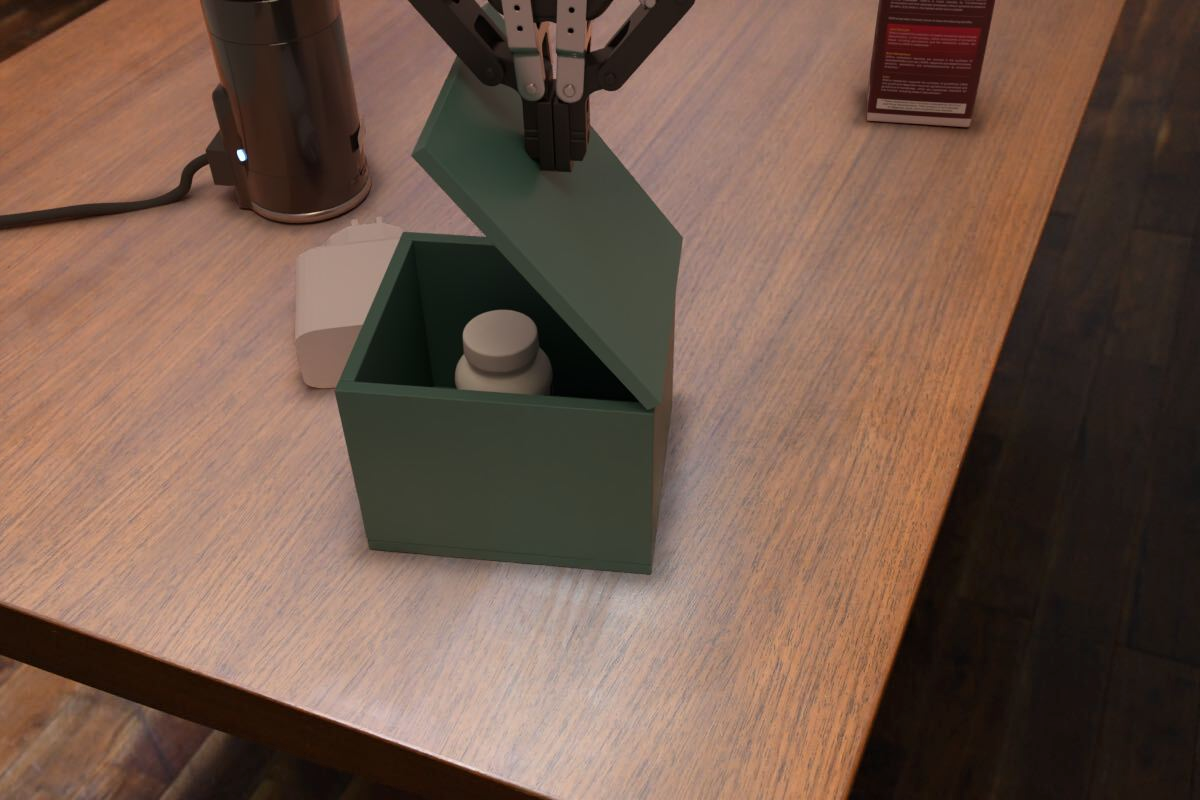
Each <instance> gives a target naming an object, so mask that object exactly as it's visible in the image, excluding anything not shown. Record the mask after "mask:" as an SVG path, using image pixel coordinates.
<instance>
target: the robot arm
mask: <svg viewBox="0 0 1200 800" xmlns="http://www.w3.org/2000/svg"><path fill="white" fill-rule="evenodd" d="M407 2H408V3H409V4H410V5H411V6H412V7H413V8H414V9H415V10H416V11H417V12H418V13H419V15H420V16H421V17H422V18H423V19H424V21H425V22H426V23H427V24H428V25H429V26H430V27H431V28H432V29H433V31H435V33H436V34H437V35H438V36H439V37H440V38H441V39H442V41H443V42H444V43H445V44H446V45H447V46H448V47H449V48H450V50H451V51H453V53H454V54H455V55H456V56H458V57H459V58H460V59H461V60H462V61H463V63H464V64H465V65H466V66H467V67H468V68H469V69H470V70H471V72H472V73H473V74H474V75H475V76H476V77H477V78H478V79H479V80H480V81H481V82H482V83H483V84H484V85H487V86H497V85H499V84H500V83H501V84H503V85H506V86H509V87H511V88H513V89H514V90H516V91H517V92H518V93H519V95H520V97H521V99H522V106H523V121H524V136H525V149H526V151H527V153H528V155H529V157H530V158H532V159H539V163H540V170H541V171H555V172H556V171H557V172H572V170H573V166H574V163H575V161H583V159H584V156H585V154H586V152H587V148H588V144H589V140H590V125H591V105H590V104H591V101H590V99H591V98H590V95H592V94H594V93H595V92H598V91H601V90H604V91H606V92H616V91H618V90H620V89H621V88H622V87H623V86H624V85H625V84H626V83H627V81H628V80H629V79H630V78H631V77H632V76H633V74H634V73H635V72H636V71H637V70H638V69H639V68H640V66H641V65H642V64H643V63H644V62H645V61H646V60H647V58H648V57H649V56H650V55H651V54H652V53H653V52H654V50H656V48H657V47H658V46H659V45H660V44H661V42H662V41H663V40H664V39H665V38H666V37H667V36H668V35H669V34H670V32H671V31H672V30H674V28H675V27H676V26H677V24H678V23H679V22H680V21H681V20H682V19H683V17H684V16H686V14H688V12H689V11H690V10H691V9H692V8H693V7H694V5H695V3H696V0H638V2H639V5H638V6H637V7H636V8H635V10H634V11H633V12H632V13H630V16H628V18H626V19H625V21H624V23H622V25H621V26H620V27H619V29H617V31H616V32H615V33H614V34H613V35H612V36H611V38H610V39H609V40H608V41H607V43H606V44H605V45H604V47H602V48H599V49H596V50H592V42H593V29H594V22H595V20H596V19H598V18H600V17H601V16H602V15H603V14H604V13H605V12H606V11H607V10H608V9H609V8H610V6H611V5H612V3H613V2H614V0H487V3H488V2H489V3H490V4H491V5H492V7H493V8H494V9H495V10H496V11H497V12H498V13H499V14H500V15H501V16H502V17H503V19H504V21H505V27H506V34H507V37H506V36H505V35H504V33H503V32H502V31H501V30H500V29H499V28H498V26H497V25H496V24H495V23H494V22H493V21H492V19H491V18H490V17H489V16H488V15H487V14H486V12H485V11H484V10H483V9H482V8H481V7H482V6H481V5H480V4H479V3H478V2H477V1H476V0H407ZM199 3H200V7H201V11H202V15H203V20H204V24H205V27H206V31H207V36H208V39H209V43H210V47H211V52H212V55H213V59H214V63H215V64H214V65H215V67H216V71H217V76H218V79H219V83H218V84H217V85H216V87H215V88H214V89H213V91H212V93H211V100H212V104H213V108H214V113H215V116H216V120H217V124H218V128H219V130H218V131H217V132H216V134H215V136H214V137H213V138H212V139H211V141H210V143H209V144H208V145H207V147H206V148H205V150H204V151H205V153H203V154H201V155H199V156H197V157H194V158H193V159H191V161H190V162H188V163H187V164H186V165H185V166H184V167H183V169H182V171H181V175H180V180H179V183H178V186H176V187H175V188H173V189H172V190H170V191H168V192H167V193H164V194H162V195H160V196H157V197H153V198H149V199H144V200H137V201H136V200H135V201H122V202H121V201H120V202H118V201H117V202H93V203H82V204H73V205H68V206H61V207H54V208H47V209H40V210H34V211H26V212H18V213H10V214H9V213H8V214H2V215H0V228H2V227H11V226H19V225H26V224H27V225H29V224H34V223H41V222H49V221H55V220H63V219H68V218H76V217H82V216H95V215H114V214H127V213H131V212H138V211H144V210H148V209H153V208H158V207H163V206H167V205H170V204H173V203H176V202H177V201H179V200H180V199H183V197H185V196H187V194H188V193H189V192H190V190H191V188H192V185H193V179H194V176H195V175H196V173H197V172H198V171H199V170H200V169H202V168H204V167H206V166H209V169H210V173H211V177H212V180H213V185H215V186H224V187H225V186H226V187H234V190H235V194H236V199H237V202H238V206H239V208H240V209H250V210H253V211H254V212H255V213H257V214H258V215H260V216H262V217H263V218H266V219H268V220H272V221H277V222H280V223H281V222H282V223H290V224H301V223H302V224H304V223H314V222H321V221H324V220H329V219H331V218H334V217H337V216H340V215H343V214H344V213H346V212H348V211H350V210H352V209H354V208H355V207H356V206H357V205H359V204H360V203H361V202H363V200H364V199H365V198H366V197H367V195H368V194H369V192H370V190H371V185H372V180H371V174H370V170H369V167H368V160H367V155H366V151H365V146H364V142H365V136H366V132H367V129H366V124H365V123H366V122H365V118H364V117H365V116H362V117H361V121H360V116H359V110H358V106H357V105H358V102H357V97H356V93H355V86H354V80H353V75H352V74H353V73H352V69H351V61H350V56H349V51H348V45H347V39H346V33H345V32H346V31H345V27H344V20H343V15H342V9H341V4H340V0H199ZM550 23H553V24H555V25H556V27H555V28H556V30H555V34H556V35H555V53H556V68H555V69H556V73H555V78H554V59H553V58H554V57H553V49H552V42H551V35H550Z"/></svg>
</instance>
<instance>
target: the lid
mask: <svg viewBox="0 0 1200 800" xmlns="http://www.w3.org/2000/svg"><path fill="white" fill-rule="evenodd" d="M480 7H481V8H482V9H483V10H484V11H485V12H486V14H487V15H488V16H489V17H490V18H491V19H492V21H493V22H494V23H495V24H496V25H497V26H498V28H499V29H500V30H501V31H502V32H503V33H504V35H505V36H506V37H507V34H506V27H505V21H504V17H503V15H501V14H500V13H499V12H497V11H496V10H495V9H494V8H493V7H492V5H491V4H490V3H489V2H488V1H487V3H485V4H483V5H482V6H480ZM410 157H411V158H412V159H413V160H414V161H415V162H416V163H417V165H419V167H421V169H422V170H423V171H424V172H425V173H426V174H427V175H428V176H429V177H430V178H431V179H432V180H433V181H434V182H435V183H436V185H437V186H438V187H439V188H440V189H441V190H442V191H443V192H444V193H445V194H446V195H447V196H448V197H449V199H450V200H451V202H453V203H454V204H455V205H456V207H458V208H459V209H460V210H461V212H462V213H463V214H464V215H465V216H466V217H467V218H468V219H469V220H470V221H471V222H472V224H474V225H475V226H476V228H477V229H478V230H479V231H480V232H481V233H482V234H483V236H484V237H487V238H488V239H489V240H490V241H491V242H492V244H493V245H494V246H495V247H496V248H497V249H498V250H499V251H500V252H501V253H502V254H503V255H504V256H505V257H506V259H507V260H508V261H509V262H510V263H511V264H512V265H513V266H514V267H515V268H516V269H517V270H518V271H519V273H520V274H521V275H522V276H523V277H524V278H525V279H526V280H527V281H528V282H529V283H530V284H531V285H532V286H533V288H534V289H535V290H536V291H537V292H538V293H539V294H540V295H541V296H542V297H543V298H544V299H545V300H546V302H547V303H548V304H549V305H550V306H551V307H552V308H553V309H554V310H555V311H556V312H557V313H558V314H559V315H560V317H561V318H562V319H563V320H564V321H565V322H566V323H567V324H568V325H569V326H570V327H571V328H572V329H573V331H574V332H575V333H576V334H577V335H578V336H579V337H580V338H581V339H582V340H583V341H584V342H585V343H586V344H587V346H588V347H589V348H590V349H591V350H592V351H593V352H594V353H595V354H596V355H597V356H598V357H599V358H600V360H601V361H602V362H603V363H604V364H605V365H606V366H607V367H608V368H609V369H610V370H611V371H612V372H613V373H614V375H615V376H616V377H617V378H618V379H619V380H620V381H621V382H622V383H623V384H624V385H625V386H626V387H627V389H628V390H629V391H630V392H631V393H632V394H633V395H634V396H635V397H636V398H637V399H638V400H639V401H640V403H641V404H642V405H643V406H644V407H645V408H646V409H647V410H649V409H652V408H654V407H656V406H658V405H660V404H661V400H662V392H663V385H664V377H665V370H666V362H667V355H668V347H669V340H670V332H671V325H672V317H673V310H674V302H675V303H676V301H675V295H676V294H677V287H678V279H679V271H680V264H681V257H682V249H683V242H684V237H683V235H682V234H681V233H680V232H679V231H678V229H676V227H675V226H674V224H673V223H672V222H671V221H670V219H668V217H667V216H666V215H665V214H664V212H663V211H662V210H661V208H659V206H658V205H657V204H656V203H655V202H654V200H653V199H652V198H651V197H650V195H649V194H648V193H647V191H645V189H644V188H643V187H642V186H641V184H640V183H639V182H638V181H637V180H636V178H635V177H634V176H633V175H632V173H631V172H630V171H629V169H627V167H626V166H625V164H623V162H622V161H621V160H620V158H619V157H618V156H617V155H616V154H615V153H614V152H613V150H612V149H611V148H610V147H609V146H608V144H607V143H606V142H605V140H604V139H603V138H602V137H601V136H600V135H599V133H598V132H597V131H596V129H595V128H594V127H593V126H592V125H591V124H590V140H589V144H588V148H587V152H586V154H585V156H584V159H583V161H575V163H574V166H573V170H572V172H557V171H556V172H555V171H541V170H540V163H539V159H532V158H530V157H529V155H528V153H527V151H526V149H525V136H524V121H523V106H522V99H521V97H520V95H519V93H518V92H517V91H516V90H514V89H513V88H511V87H509V86H506V85H503V84H501V83H500V84H499V85H497V86H487V85H484V84H483V83H482V82H481V81H480V80H479V79H478V78H477V77H476V76H475V75H474V74H473V73H472V72H471V70H470V69H469V68H468V67H467V66H466V65H465V64H464V63H463V61H462V60H461V59H460V58H459V57H458V56H457V55H456V56H455V58H454V61H453V62H452V65H451V67H450V69H449V71H448V74H447V76H446V78H445V80H444V83H443V84H442V87H441V89H440V91H439V93H438V94H437V98H436V100H435V102H434V104H433V106H432V108H431V111H430V113H429V115H428V117H427V120H426V121H425V124H424V126H423V128H422V130H421V132H420V135H419V137H418V139H417V141H416V143H415V145H414V147H413V150H412V151H411V154H410ZM676 296H677V295H676Z"/></svg>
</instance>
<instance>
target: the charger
mask: <svg viewBox="0 0 1200 800" xmlns="http://www.w3.org/2000/svg"><path fill="white" fill-rule="evenodd" d="M403 232H408V231H407V230H406V229H405V228H403V227H401V226H397V225H393V224H389V223H386V222H384V220H383V217H382V216H380V215H378V216H376V217H375V218H374V223H373V222H372V223H364V224H359V220H358V219H356V218H352V219H350V225H347V226H346V227H344V228H343V229H340V230H339V231H337V232H335V233H333V234H332V235H330V237H329V238H328V239H327V240H326V244H322V245H317V246H314V247H312V248H309V249H307V250H305V251H303V252H301V253H299V255H298V256H296V259H295V299H294V302H295V303H294V310H295V311H294V347H295V351H296V356H297V359H298V364H299V368H300V371H301V376H302V380H303V382H304V384H305V385H307V386H309V387H311V388H316V389H335V388H336V386H337V383H338V381H339V379H340V377H341V374H342V372H343V370H344V367H345V365H346V363H347V360H348V358H349V356H350V353H351V351H352V349H353V346H354V344H355V342H356V339H357V337H358V335H359V333H360V330H361V328H362V326H363V323H364V321H365V319H366V316H367V314H368V312H369V309H370V307H371V305H372V302H373V300H374V298H375V295H376V293H377V291H378V288H379V286H380V284H381V281H382V279H383V277H384V274H385V272H386V270H387V268H388V265H389V263H390V261H391V258H392V256H393V254H394V251H395V249H396V247H397V244H398V242H399V240H400V237H401V235H402V233H403Z"/></svg>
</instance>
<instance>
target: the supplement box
mask: <svg viewBox="0 0 1200 800" xmlns="http://www.w3.org/2000/svg"><path fill="white" fill-rule="evenodd" d="M995 4H996V0H878V6H877V14H876V21H875V28H874V29H875V30H874V37H873V42H872V43H873V44H872V51H871V58H870V68H869V72H868V73H869V74H868V82H867V89H866V121H867V122H882V123H898V124H914V125H930V126H931V125H932V126H942V127H943V126H944V127H945V126H946V127H958V128H959V127H960V128H969V127H970V126H971V123H972V118H973V114H974V110H975V105H976V100H977V95H978V90H979V86H980V81H981V75H982V70H983V65H984V60H985V55H986V50H987V45H988V40H989V36H990V30H991V24H992V20H993V15H994V9H995Z"/></svg>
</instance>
